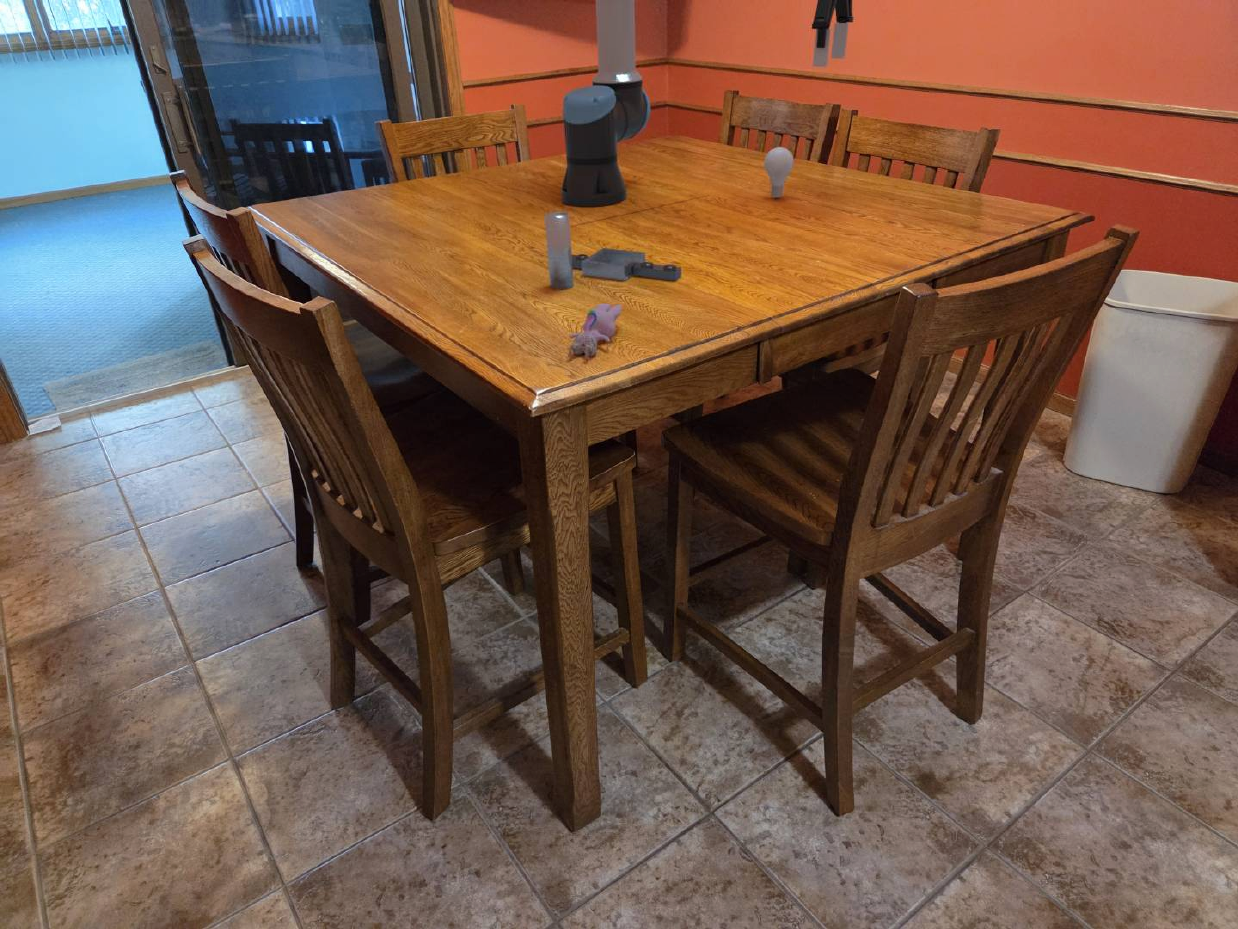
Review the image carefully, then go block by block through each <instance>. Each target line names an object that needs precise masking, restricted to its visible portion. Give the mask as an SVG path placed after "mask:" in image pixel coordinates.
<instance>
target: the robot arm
mask: <svg viewBox="0 0 1238 929" xmlns="http://www.w3.org/2000/svg"><path fill="white" fill-rule="evenodd" d="M595 12H596V15H595V16H596V18H595V19H596V41H597V61H598V62H597V66H598V70H597V73H596V74H595V75H594V76H593V78H592V79H591V80H592V85H587V86H584V87H578V88H575V89H573V90H570V91H569V92H567V93H566V94H565V95H564V96H563V100H562V118H563V130H564V142H565V154H566V155H565V156H566V169H565V173H564V176H563V182H562V186H561V190H560V194H561V201H562V203H564V204H566V205H571V206H574V207H601V206H610V205H614V204H618V203H621V202H623V201H625V200H626V198H627V187H626V184H625V181H624V178H623V175H622V172H621V170H620V169H621V168H620V167H619V164H618V143H620V142H623V141H627V140H630V139H632V138H634V137H635V136H637V135H638V134H639V133H641V132H642V131H643V130H644V128H645V127H646V126H647V124H648V123H649V122H648V121H649V120H650V117H651V102H650V101H651V100H650V98H649V96H648V94H646V92H645V89H643V88H644V86H643V76H642V75H640V73H639V72H638V71H637V69H636V67H637V66H636V22H635V21H636V20H635V17H636V16H635V12H636V11H635V0H595ZM834 12H835V21H836V22H835V23H834V24H833V33H832V29H831V28H830V27H831V23H832V20H833V19H832V18H833V16H834ZM853 22H854V16H853V0H817V3H816V9H815V13H814V18H813V22H812V23H811V30H815V36H814V38H815V39H814V47H813V48H814V49H813V60H812V61H813V62H812V67H818V68H819V67H821V68H823V67H824V68H826V67H828V63H829V56H830V55H829V54H831V56H830V59H841V60H842V59H843V60H844V59H845V57H846V49H847V42H848V41H847V40H848V39H847V38H848V31H849V23H853ZM831 34H832V35H833V36H832V43H831V44H832V46H831V53H830V52H829V51H830V42H831Z"/></svg>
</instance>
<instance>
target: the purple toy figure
mask: <svg viewBox="0 0 1238 929" xmlns="http://www.w3.org/2000/svg"><path fill="white" fill-rule="evenodd" d="M622 308H623V306H622V305H621V304H617V305H613V306H612V304H611V303H600V304H598V305H596V306H595V307H594V309H590V310H588V313H587V316H586V320H585V322H584V323H583V324H582V331H583V332H577V333H573V334H570V335H569V338H570V339H573V338H574V340H573V343H572V344H571V345H570V348H568V355H567V358H571V359H572V358H573V359H574V355H576V356H580V354H581V355H582V354H584V358H583V361H584V360H585V359H586V362H587V361H588V362H589V361H590V356H591V357H593V356H594V355H596V353H597V350H598V342H599V341H603V340H604V341H605V342H607V343H610V342H611V339H610V337H612V336H614V334H615V333H616V330H617V329H616V326H615V322H616V320H618V318H619V317H620V315H621V312H622ZM572 353H573V354H574V355H573V354H572Z"/></svg>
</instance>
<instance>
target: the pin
mask: <svg viewBox="0 0 1238 929" xmlns="http://www.w3.org/2000/svg"><path fill="white" fill-rule="evenodd" d="M543 218H544V224H545V225H544V226H545V238H546V239H545V240H546V250H547V259H548V260H547V262H548V274H549V284H550V288H551V289H554V290H559V289H561V290H568V289H570V288H573V287H574V284H575V283H574V270H573V269H574V268H572V255H573V254H572V244H571V243H572V242H571V229H570V228H571V227H570V214H569V212H566V211H552V212H548V213H545V214H544V217H543Z"/></svg>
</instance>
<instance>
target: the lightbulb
mask: <svg viewBox="0 0 1238 929" xmlns="http://www.w3.org/2000/svg"><path fill="white" fill-rule="evenodd" d="M793 166H794V156H793V154H792V152H791V151H790V150H789V149H788V148H786V147H783V146H778V147H774V148H772V149H770V151H768V152H767V154H766V155H765V158H764V168H765V171H766V173H767V175H768V177H769V181H770V182H769V183H770V185H771V188H770V193H771V194H770V196H771V197H772V198H773V199H775V200H778V199H781V198H782V197H783V196H784V195H783V194H784V185H785V182H786V180H787V177H788V175H789V174H790V172H791V171H792V169H793Z"/></svg>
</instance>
